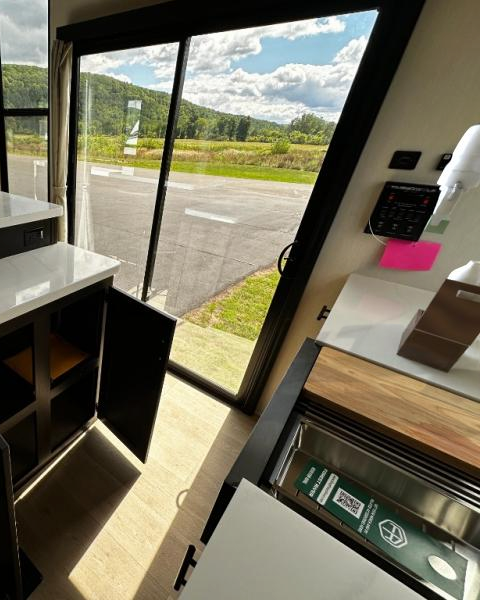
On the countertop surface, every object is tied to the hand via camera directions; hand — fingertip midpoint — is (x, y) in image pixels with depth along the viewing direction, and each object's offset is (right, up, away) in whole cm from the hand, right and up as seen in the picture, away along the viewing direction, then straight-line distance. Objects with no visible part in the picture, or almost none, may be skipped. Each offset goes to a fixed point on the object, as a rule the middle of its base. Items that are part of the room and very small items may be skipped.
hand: (434, 222), depth 105 cm
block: (+1, -3, +1) cm, 3 cm away
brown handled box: (-15, -29, -19) cm, 38 cm away
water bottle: (+3, -36, +3) cm, 36 cm away
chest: (-11, -42, -6) cm, 44 cm away
